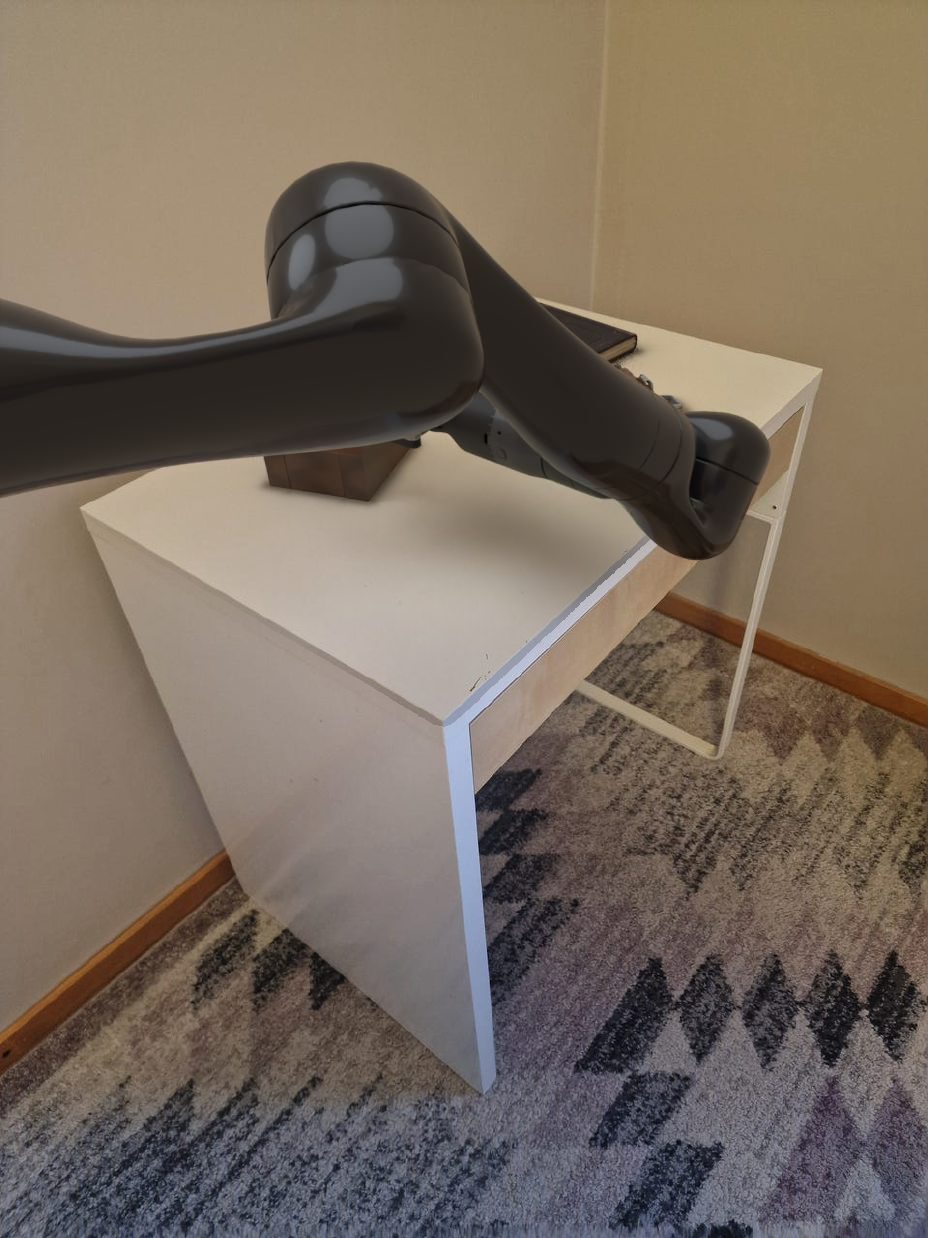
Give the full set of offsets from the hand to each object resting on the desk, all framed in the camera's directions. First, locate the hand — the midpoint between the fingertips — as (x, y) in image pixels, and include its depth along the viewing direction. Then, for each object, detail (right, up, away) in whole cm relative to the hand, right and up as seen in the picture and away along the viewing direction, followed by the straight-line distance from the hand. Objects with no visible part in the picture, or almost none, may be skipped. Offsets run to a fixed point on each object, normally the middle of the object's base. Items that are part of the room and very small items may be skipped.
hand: (380, 374), depth 78 cm
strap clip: (+28, 0, +17) cm, 33 cm away
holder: (-5, -6, +12) cm, 14 cm away
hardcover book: (+16, +13, +32) cm, 38 cm away
